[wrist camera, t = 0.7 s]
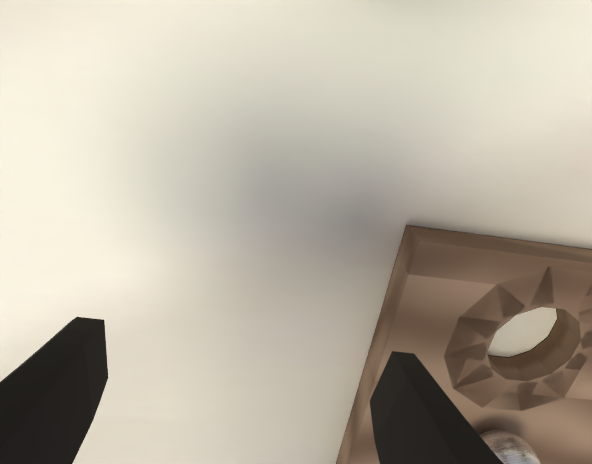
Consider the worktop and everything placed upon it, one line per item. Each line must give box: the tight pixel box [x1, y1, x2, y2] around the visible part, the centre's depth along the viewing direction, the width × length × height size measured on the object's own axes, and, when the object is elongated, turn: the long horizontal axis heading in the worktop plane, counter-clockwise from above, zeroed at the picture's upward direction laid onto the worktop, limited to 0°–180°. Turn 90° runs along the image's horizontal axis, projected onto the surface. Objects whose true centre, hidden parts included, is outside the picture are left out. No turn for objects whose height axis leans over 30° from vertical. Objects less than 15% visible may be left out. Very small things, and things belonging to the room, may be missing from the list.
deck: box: [336, 225, 592, 464], centre depth 25 cm, size 20×17×2 cm
